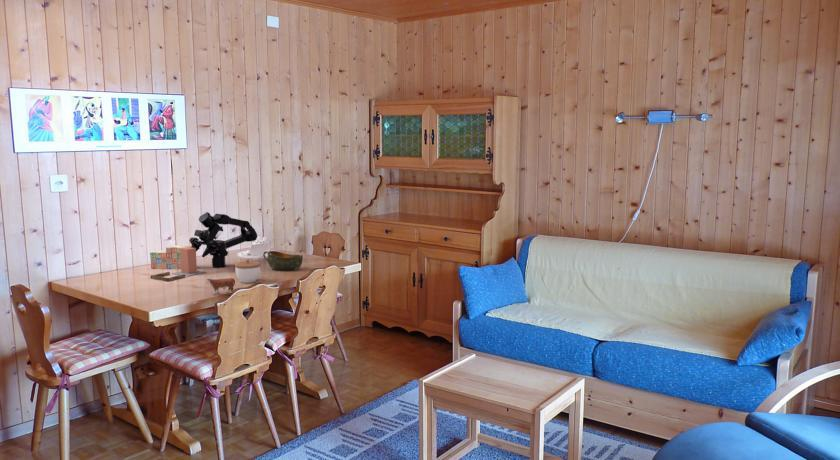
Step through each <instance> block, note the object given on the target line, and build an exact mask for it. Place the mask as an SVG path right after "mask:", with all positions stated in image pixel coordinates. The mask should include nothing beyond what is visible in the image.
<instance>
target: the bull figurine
mask: <svg viewBox="0 0 840 460" xmlns="http://www.w3.org/2000/svg"><path fill="white" fill-rule="evenodd" d="M205 283H206V284H209V285H210V287H211V288H212V289H213V293H212V296H215V295H217V294H219V293H220V291H219V290H220V289H223V290H225V289H226V288H227V287H228V288H227V291H226V292H225V293H226V294H228V293H232V292H233V293H234V286H235V285H236V280H235V278H216V277H213V276H212V277H211V276H208V278H207V279H206V280H205ZM233 293H232V294H233Z"/></svg>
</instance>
